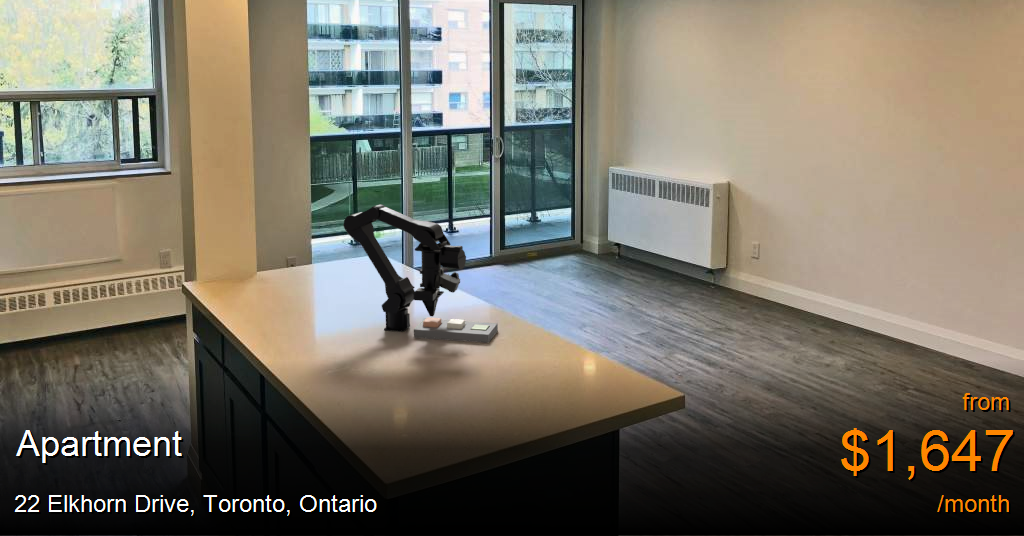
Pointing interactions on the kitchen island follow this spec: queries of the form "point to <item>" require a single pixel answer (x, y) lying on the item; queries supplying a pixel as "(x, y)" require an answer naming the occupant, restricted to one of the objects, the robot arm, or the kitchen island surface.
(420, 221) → the robot arm
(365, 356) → the kitchen island surface
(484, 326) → the sage button
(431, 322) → the terracotta button
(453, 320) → the cream button
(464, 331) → the button panel
